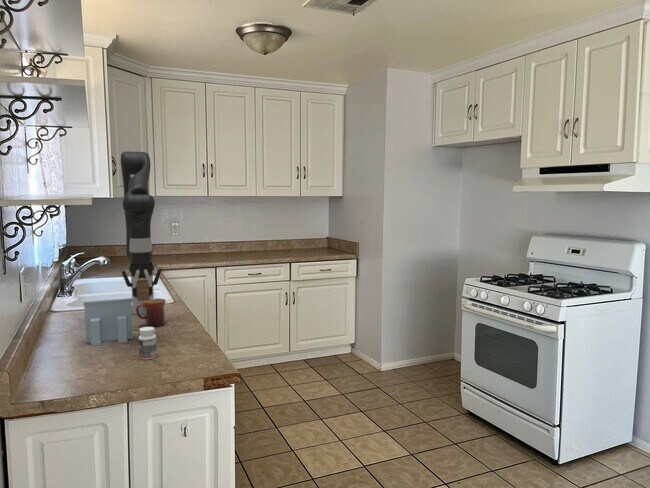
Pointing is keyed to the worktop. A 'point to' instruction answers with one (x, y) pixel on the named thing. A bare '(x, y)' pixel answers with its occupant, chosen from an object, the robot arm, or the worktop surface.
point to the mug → (153, 312)
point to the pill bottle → (147, 343)
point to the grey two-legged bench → (108, 320)
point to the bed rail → (142, 289)
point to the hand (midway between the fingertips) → (142, 296)
